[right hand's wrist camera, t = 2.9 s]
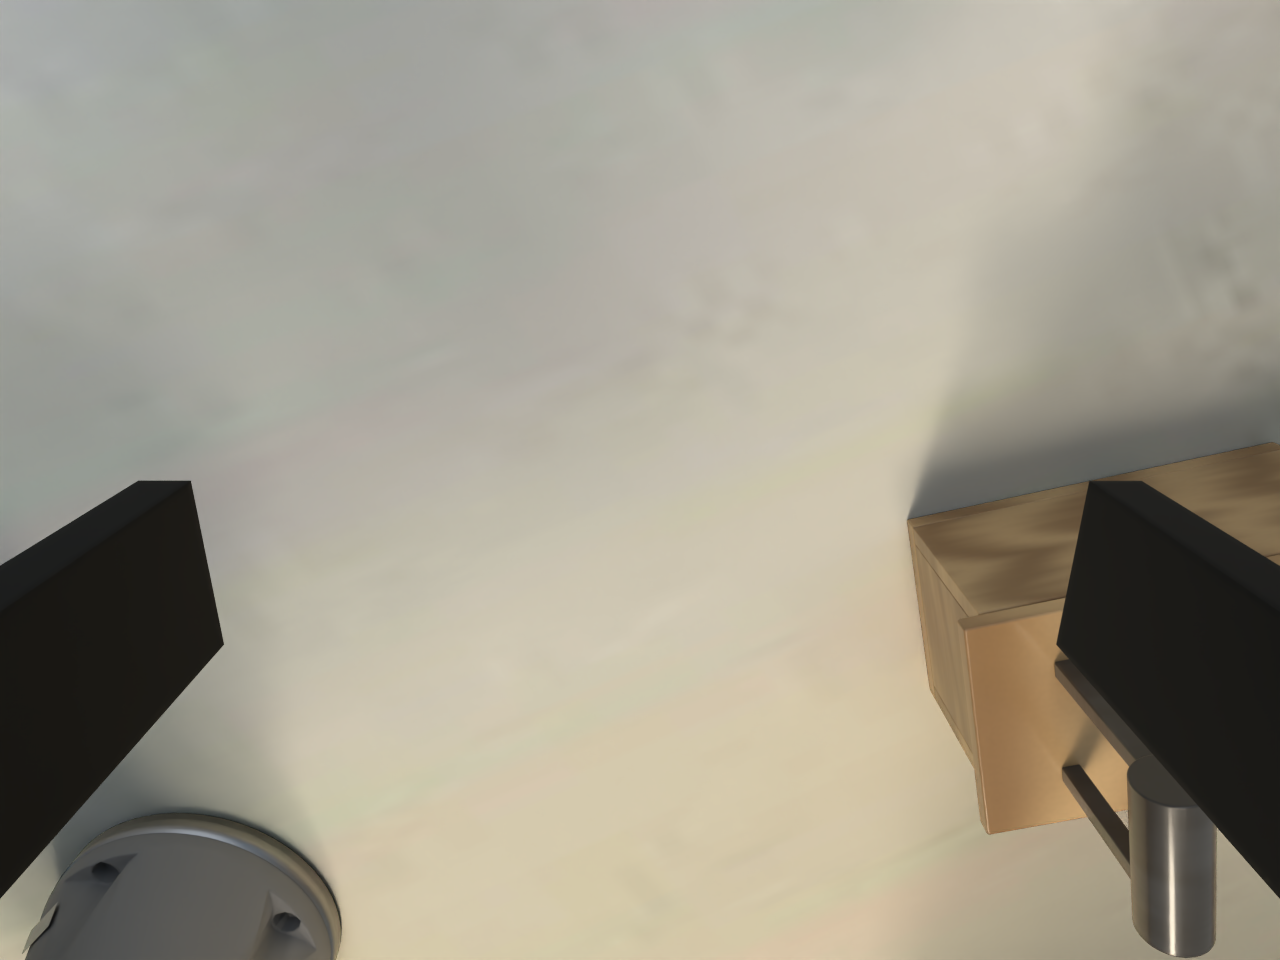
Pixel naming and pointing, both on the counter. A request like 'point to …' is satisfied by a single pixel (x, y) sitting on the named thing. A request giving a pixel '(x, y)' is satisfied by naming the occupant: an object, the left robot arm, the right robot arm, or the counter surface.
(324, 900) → the right robot arm
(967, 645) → the lid
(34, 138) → the counter surface
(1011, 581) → the chest
